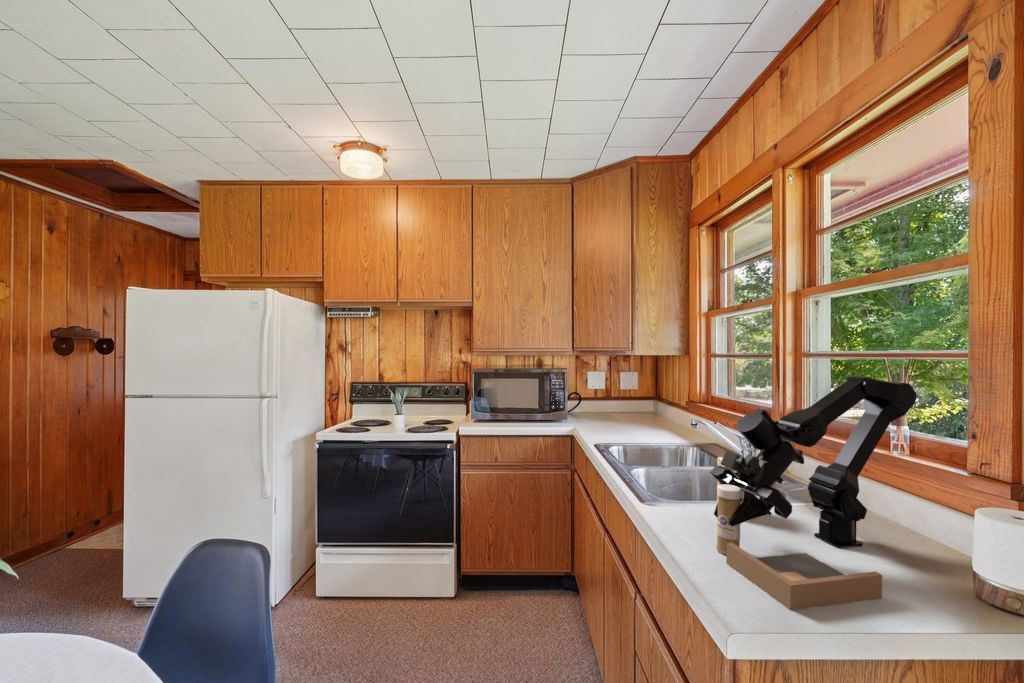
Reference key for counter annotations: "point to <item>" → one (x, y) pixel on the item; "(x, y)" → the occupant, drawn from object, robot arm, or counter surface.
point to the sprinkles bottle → (727, 516)
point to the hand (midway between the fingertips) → (722, 520)
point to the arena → (803, 579)
